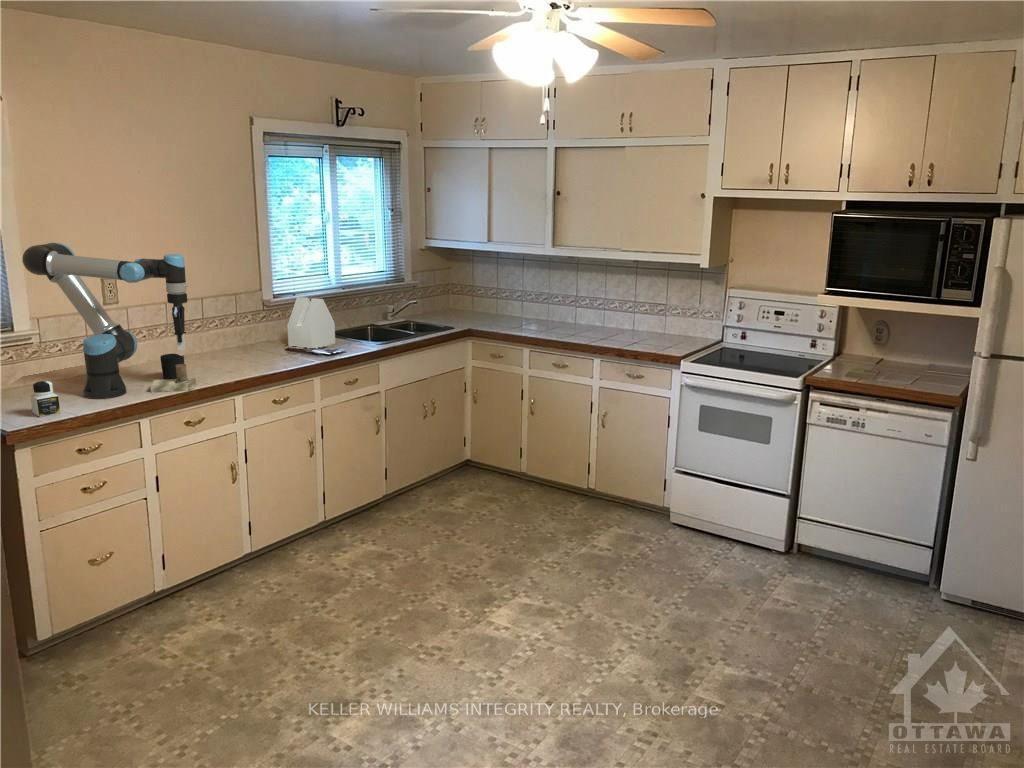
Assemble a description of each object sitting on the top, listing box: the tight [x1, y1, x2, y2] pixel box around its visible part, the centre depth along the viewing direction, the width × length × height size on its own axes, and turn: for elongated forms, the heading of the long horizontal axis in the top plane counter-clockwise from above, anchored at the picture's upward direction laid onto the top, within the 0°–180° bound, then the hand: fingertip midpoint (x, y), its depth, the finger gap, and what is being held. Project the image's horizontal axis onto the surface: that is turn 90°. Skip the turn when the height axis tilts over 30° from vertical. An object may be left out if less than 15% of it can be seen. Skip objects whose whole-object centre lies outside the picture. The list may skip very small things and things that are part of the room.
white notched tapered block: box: [286, 296, 336, 349], centre depth 409 cm, size 19×15×25 cm
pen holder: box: [159, 353, 185, 380], centre depth 339 cm, size 9×9×10 cm
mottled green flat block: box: [149, 377, 197, 393], centre depth 322 cm, size 16×9×3 cm, turn 104°
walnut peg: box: [176, 363, 188, 383], centre depth 322 cm, size 4×4×10 cm
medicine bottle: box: [29, 380, 61, 418], centre depth 285 cm, size 7×7×12 cm
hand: (181, 349), depth 322 cm, fingers closed
